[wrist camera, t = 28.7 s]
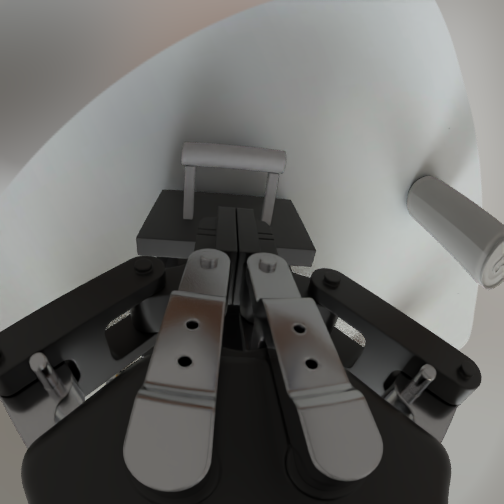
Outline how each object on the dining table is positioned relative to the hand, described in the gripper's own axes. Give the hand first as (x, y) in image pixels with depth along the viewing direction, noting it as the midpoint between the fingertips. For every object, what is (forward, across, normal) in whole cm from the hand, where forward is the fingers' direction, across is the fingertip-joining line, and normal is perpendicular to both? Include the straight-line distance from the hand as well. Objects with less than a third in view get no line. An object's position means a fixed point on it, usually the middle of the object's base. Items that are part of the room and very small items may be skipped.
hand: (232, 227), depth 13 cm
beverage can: (+12, -19, 0) cm, 22 cm away
